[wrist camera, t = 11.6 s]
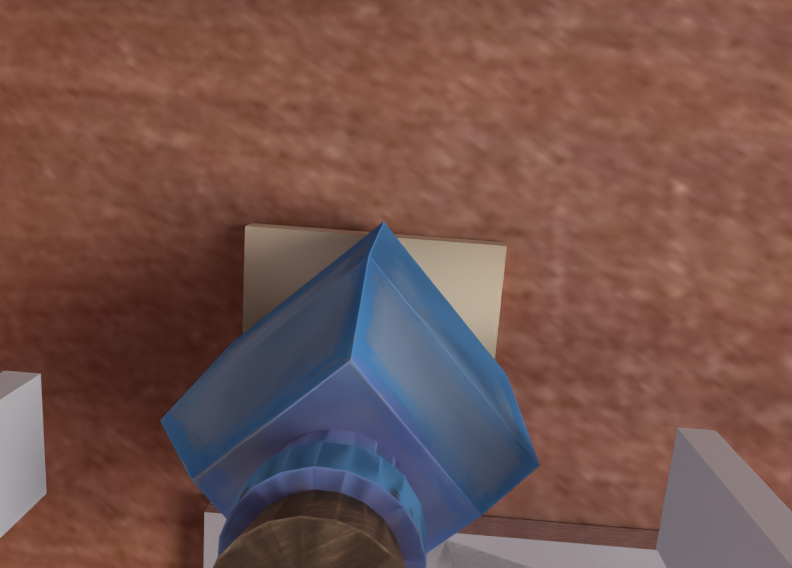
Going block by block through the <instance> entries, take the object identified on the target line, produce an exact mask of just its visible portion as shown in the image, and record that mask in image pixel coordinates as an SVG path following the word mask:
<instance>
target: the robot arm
mask: <svg viewBox="0 0 792 568" xmlns="http://www.w3.org/2000/svg"><path fill="white" fill-rule="evenodd" d="M45 494H46V473H45V452H44V431H43V411H42V390H41V374H39V373H27V372H15V371H3V372H1V373H0V538H1V537H2V536H3V535H4V534H5V533H6V532H7V531H8V530H9V529H10V528H11V527H12V526H13V525H14V524H15V523H16V522H17V521H18V520H19V519H21V518H22V517H23V516H24V515H25V514H26V513H27V512H28V511H29V510H30V509H31V508H32V507H33V506H34V505H35V504H36V503H37V502H38V501H39V500H40V499H41V498H42V497H43V496H44V495H45ZM656 549H657V551H658V552H659V554H660V556H661V558H662V560H663V562H664V564H665V565H666V567H667V568H792V511H791V510H790V509H789V508H788V507H787V506H786V505H785V504H784V503H783V502H782V501H781V500H780V498H779V497H778V496H777V495H776V494H775V493H774V492H773V491H772V490H771V489H770V488H769V487H768V486H767V485H766V484H765V483H764V482H763V480H762V479H761V478H760V477H759V476H758V475H757V474H756V473H755V472H754V471H753V470H752V469H751V468H750V467H749V466H748V465H747V463H746V462H745V461H744V460H743V459H742V458H741V457H740V456H739V455H738V454H737V453H736V452H735V451H734V450H733V449H732V448H731V447H730V445H729V444H728V443H727V442H726V441H725V440H724V439H723V438H722V437H721V436H720V435H719V434H718V433H717V432H716V431H714V430H702V429H690V428H679V427H677V432H676V438H675V443H674V449H673V455H672V460H671V466H670V472H669V477H668V483H667V489H666V494H665V500H664V506H663V511H662V517H661V523H660V528H659V534H658V540H657V545H656Z"/></svg>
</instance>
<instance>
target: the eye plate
mask: <svg viewBox="0 0 792 568" xmlns="http://www.w3.org/2000/svg"><path fill="white" fill-rule="evenodd" d="M226 520H227V519H226V518H225V517H224V516H223V514H222V513H221V512H220V511H219V510H218V509H217V508H216V507H215V506H214V505H213V503H212V502H211V501H210V503H209V505H208V507H207V508H206V510H205V512H204V568H213V566H214V564H215V562H216V559H217V558H218V544H219V535H220V533H221V531H222V529H223V526H224V524H225V522H226ZM658 534H659V531H656V530H644V529H632V528H620V527H608V526H596V525H584V524H572V523H560V522H548V521H536V520H524V519H512V518H500V517H488V516H480V517H479V518H477V519H476V520H474V521H473V522H472V523H470V524H469V525H467V526H466V527H464V528H463V529H461V530H460V531H459V532H457V533H456V534H454V535H453V536H451V537H450V538H448V539H447V540H446V541H444V542H443V543H441V544H440V545H438V546H437V547H435V548H434V549H433V550H431V551H430V552H428V553H427V563H426V568H667V567H666V565H665V564H664V562H663V560H662V558H661V556H660V554H659V552H658V551H657V549H656V545H657V540H658Z"/></svg>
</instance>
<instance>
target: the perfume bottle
mask: <svg viewBox="0 0 792 568" xmlns="http://www.w3.org/2000/svg"><path fill="white" fill-rule="evenodd" d="M160 422H161V424H162V426H163V428H164V429H165V431H166V433H167V435H168V437H169V439H170V441H171V443H172V444H173V446H174V448H175V450H176V452H177V454H178V456H179V458H180V459H181V461H182V463H183V465H184V467H185V469H186V471H187V473H188V474H189V476H190V478H191V480H192V482H193V483H194V484H195V485H196V486H197V487H198V488H199V489H200V490H201V491H202V493H203V494H204V495H205V496H206V497H207V498H208V499H209V500H210V501H211V502H212V503H213V505H214V506H215V507H216V508H217V509H218V510H219V511H220V512H221V513H222V514H223V516H224V517H225V518H226V519H227V520H226V522H225V524H224V526H223V529H222V531H221V533H220V535H219V544H218V558H217V559H216V562H215V564H214V566H213V568H426V563H427V553H428V552H430V551H431V550H433V549H434V548H435V547H437V546H438V545H440V544H441V543H443V542H444V541H446V540H447V539H448V538H450V537H451V536H453V535H454V534H456V533H457V532H459V531H460V530H461V529H463V528H464V527H466V526H467V525H469V524H470V523H472V522H473V521H474V520H476V519H477V518H479V517H480V516H482V515H483V514H484V513H485V512H486V511H487V510H489V509H490V508H491V507H492V506H493V505H494V504H496V503H497V502H498V501H499V500H500V499H501V498H503V497H504V496H505V495H506V494H507V493H509V492H510V491H511V490H512V489H513V488H514V487H516V486H517V485H518V484H519V483H520V482H521V481H523V480H524V479H525V478H526V477H527V476H528V475H530V474H531V473H532V472H533V471H534V470H535V469H537V468H538V467H539V466H540V464H539V461H538V459H537V456H536V453H535V451H534V448H533V445H532V442H531V440H530V437H529V434H528V431H527V429H526V426H525V423H524V420H523V418H522V415H521V412H520V410H519V407H518V404H517V401H516V399H515V396H514V393H513V390H512V388H511V385H510V382H509V380H508V377H507V374H506V373H505V372H504V371H503V369H502V368H501V367H500V366H499V364H498V363H497V362H496V361H495V360H494V358H493V357H492V356H491V355H490V353H489V352H488V351H487V350H486V348H485V347H484V346H483V345H482V343H481V342H480V341H479V340H478V338H477V337H476V336H475V335H474V333H473V332H472V331H471V330H470V328H469V327H468V326H467V325H466V323H465V322H464V321H463V320H462V318H461V317H460V316H459V315H458V313H457V312H456V311H455V310H454V308H453V307H452V306H451V305H450V303H449V302H448V301H447V300H446V299H445V297H444V296H443V295H442V294H441V292H440V291H439V290H438V289H437V287H436V286H435V285H434V284H433V282H432V281H431V280H430V279H429V277H428V276H427V275H426V274H425V272H424V271H423V270H422V269H421V267H420V266H419V265H418V264H417V262H416V261H415V260H414V259H413V257H412V256H411V255H410V254H409V252H408V251H407V250H406V249H405V247H404V246H403V245H402V244H401V242H400V241H399V240H398V239H397V237H396V236H395V235H394V234H393V232H392V231H391V230H390V229H389V227H388V226H387V225H386V224H385V223H384V222H383V223H381V224H380V225H379V226H378V227H376V228H375V229H374V230H373V231H371V232H370V233H369V234H367V235H366V236H365V237H364V238H363V239H361V240H360V241H359V242H357V243H356V244H355V245H354V246H352V247H351V248H350V249H349V250H347V251H346V252H345V253H344V254H342V255H341V256H340V257H339V258H337V259H336V260H335V261H334V262H332V263H331V264H330V265H329V266H327V267H326V268H325V269H324V270H322V271H321V272H320V273H319V274H317V275H316V276H315V277H314V278H312V279H311V280H310V281H309V282H307V283H306V284H305V285H304V286H302V287H301V288H300V289H299V290H297V291H296V292H295V293H294V294H292V295H291V296H290V297H289V298H287V299H286V300H285V301H284V302H282V303H281V304H280V305H278V306H277V307H276V308H275V309H273V310H272V311H271V312H270V313H268V314H267V315H266V316H265V317H263V318H262V319H261V320H260V321H258V322H257V323H256V324H255V325H253V326H252V327H251V328H250V329H248V330H247V331H246V332H245V333H243V334H242V335H241V336H240V337H238V338H237V339H236V340H235V341H233V342H232V343H231V344H230V345H229V346H228V347H227V348H226V350H225V351H224V352H223V353H222V354H221V355H220V356H219V357H218V358H217V359H216V360H215V361H214V363H213V364H212V365H211V366H210V367H209V368H208V369H207V370H206V371H205V372H204V373H203V374H202V376H201V377H200V378H199V379H198V380H197V381H196V382H195V383H194V384H193V385H192V386H191V387H190V389H189V390H188V391H187V392H186V393H185V394H184V395H183V396H182V397H181V398H180V399H179V400H178V402H177V403H176V404H175V405H174V406H173V407H172V408H171V409H170V410H169V411H168V412H167V413H166V414H165V416H164V417H163V418H162V419H161V420H160Z"/></svg>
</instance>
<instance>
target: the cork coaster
mask: <svg viewBox="0 0 792 568" xmlns="http://www.w3.org/2000/svg"><path fill="white" fill-rule="evenodd" d="M369 233H370V232H364V231H351V230H337V229H324V228H311V227H298V226H285V225H272V224H258V223H250V224H248V225H246V226H245V249H244V287H243V325H242V334H243V333H245V332H246V331H247V330H248V329H250V328H251V327H252V326H253V325H255V324H256V323H257V322H258V321H260V320H261V319H262V318H263V317H265V316H266V315H267V314H268V313H270V312H271V311H272V310H273V309H275V308H276V307H277V306H278V305H280V304H281V303H282V302H284V301H285V300H286V299H287V298H289V297H290V296H291V295H292V294H294V293H295V292H296V291H297V290H299V289H300V288H301V287H302V286H304V285H305V284H306V283H307V282H309V281H310V280H311V279H312V278H314V277H315V276H316V275H317V274H319V273H320V272H321V271H322V270H324V269H325V268H326V267H327V266H329V265H330V264H331V263H332V262H334V261H335V260H336V259H337V258H339V257H340V256H341V255H342V254H344V253H345V252H346V251H347V250H349V249H350V248H351V247H352V246H354V245H355V244H356V243H357V242H359V241H360V240H361V239H363V238H364V237H365V236H366V235H367V234H369ZM394 235H395V236H396V237H397V239H398V240H399V241H400V242H401V244H402V245H403V246H404V247H405V249H406V250H407V251H408V252H409V254H410V255H411V256H412V257H413V259H414V260H415V261H416V262H417V264H418V265H419V266H420V267H421V269H422V270H423V271H424V272H425V274H426V275H427V276H428V277H429V279H430V280H431V281H432V282H433V284H434V285H435V286H436V287H437V289H438V290H439V291H440V292H441V294H442V295H443V296H444V297H445V299H446V300H447V301H448V302H449V303H450V305H451V306H452V307H453V308H454V310H455V311H456V312H457V313H458V315H459V316H460V317H461V318H462V320H463V321H464V322H465V323H466V325H467V326H468V327H469V328H470V330H471V331H472V332H473V333H474V335H475V336H476V337H477V338H478V340H479V341H480V342H481V343H482V345H483V346H484V347H485V348H486V350H487V351H488V352H489V353H490V355H491V356H492V357H493V358H494V360H495V352H496V343H497V333H498V324H499V314H500V305H501V296H502V286H503V277H504V267H505V258H506V249H507V246H506V244H505V243H504V242H495V241H482V240H469V239H456V238H443V237H430V236H416V235H403V234H394Z"/></svg>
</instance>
